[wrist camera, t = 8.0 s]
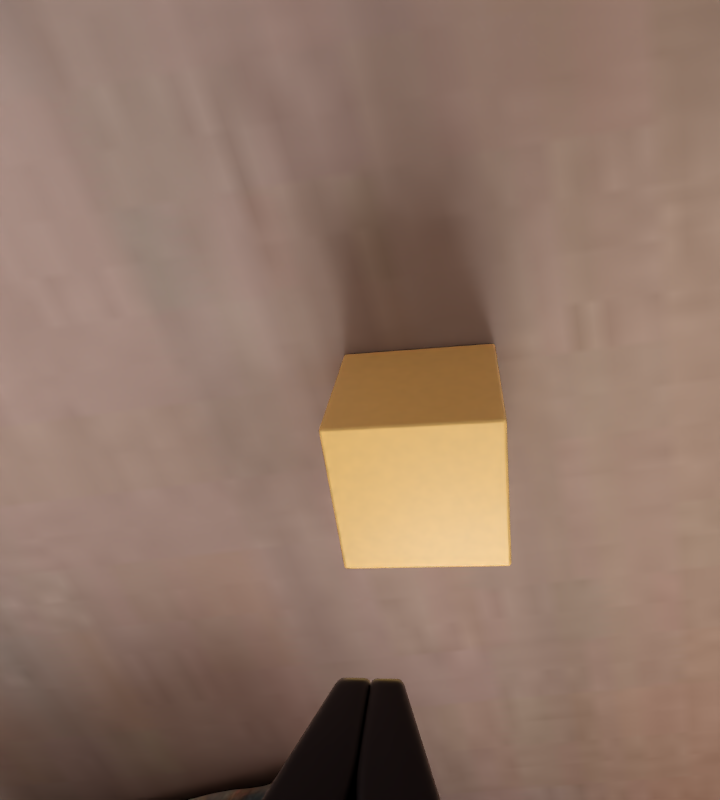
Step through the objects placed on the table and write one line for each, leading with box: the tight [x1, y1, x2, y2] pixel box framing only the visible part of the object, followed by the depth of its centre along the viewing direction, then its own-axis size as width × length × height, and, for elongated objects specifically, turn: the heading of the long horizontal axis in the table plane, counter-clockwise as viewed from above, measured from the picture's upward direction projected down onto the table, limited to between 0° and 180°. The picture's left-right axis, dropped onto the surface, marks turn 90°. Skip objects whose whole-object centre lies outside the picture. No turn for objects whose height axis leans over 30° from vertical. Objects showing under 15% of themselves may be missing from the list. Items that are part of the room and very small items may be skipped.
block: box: [319, 344, 511, 569], centre depth 18 cm, size 4×4×4 cm
